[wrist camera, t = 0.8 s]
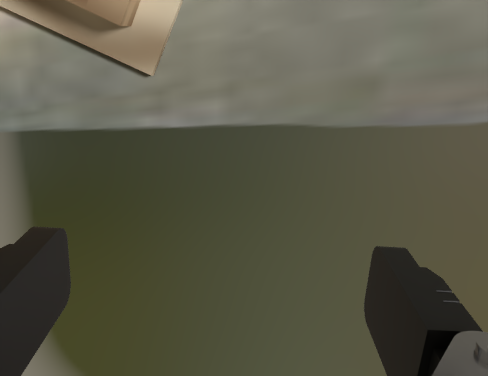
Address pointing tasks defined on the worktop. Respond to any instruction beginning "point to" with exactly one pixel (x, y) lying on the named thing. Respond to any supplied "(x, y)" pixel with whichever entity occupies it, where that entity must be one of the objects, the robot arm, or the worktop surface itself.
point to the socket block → (108, 25)
